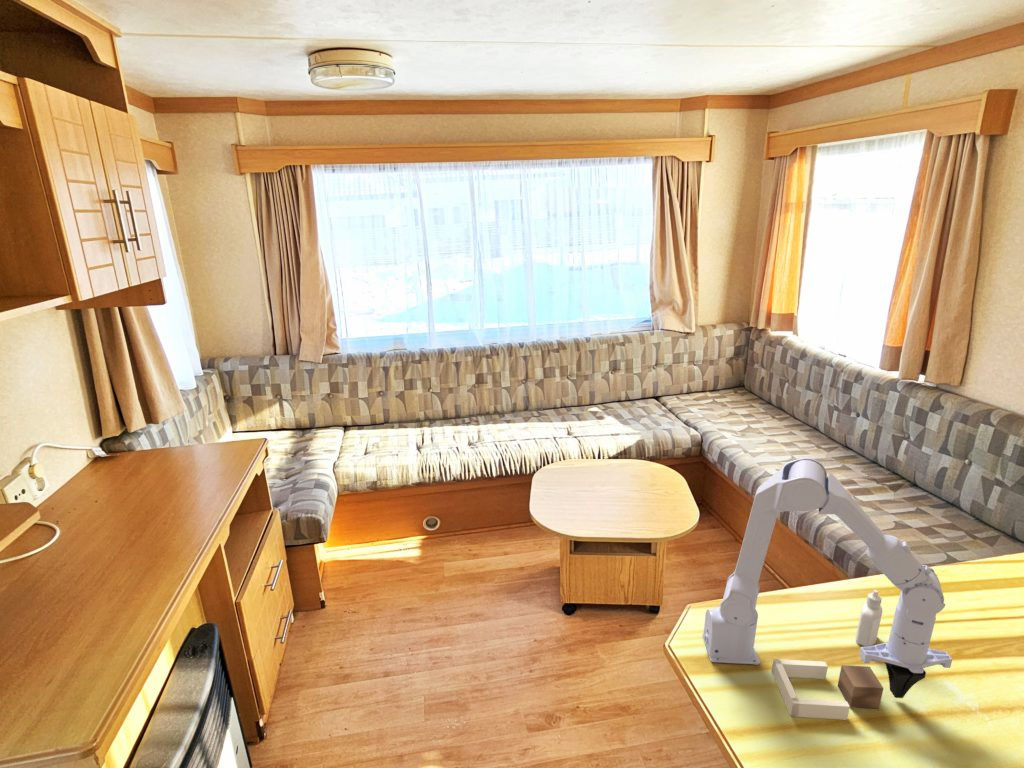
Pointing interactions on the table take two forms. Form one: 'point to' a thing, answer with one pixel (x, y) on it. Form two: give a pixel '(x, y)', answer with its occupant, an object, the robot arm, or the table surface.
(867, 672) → the walnut cube
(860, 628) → the eye dropper bottle
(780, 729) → the table surface
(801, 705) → the dock
